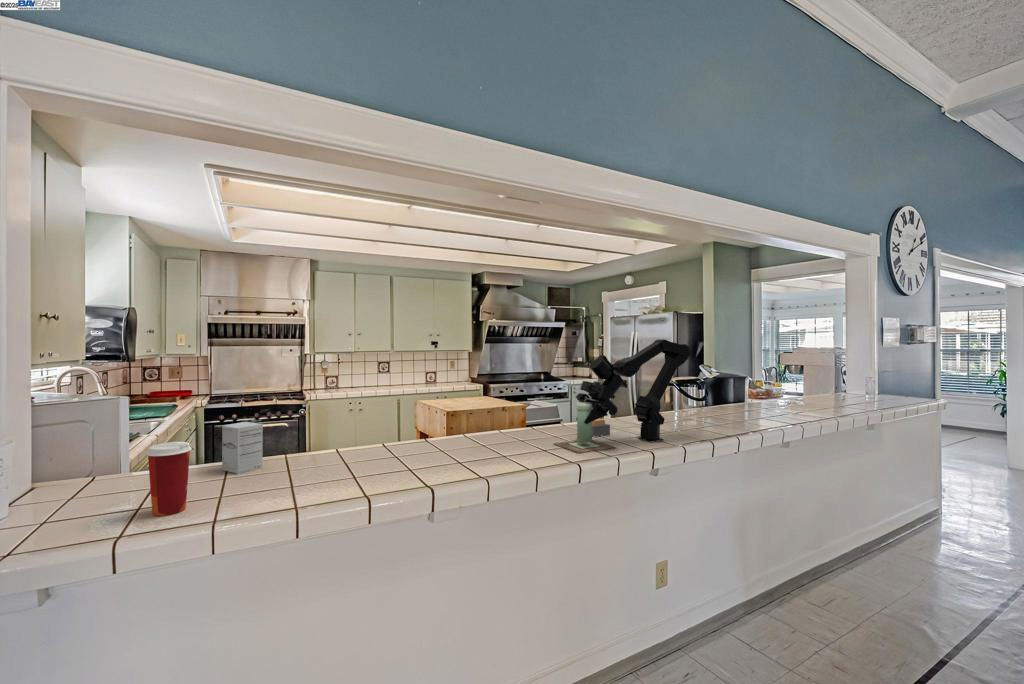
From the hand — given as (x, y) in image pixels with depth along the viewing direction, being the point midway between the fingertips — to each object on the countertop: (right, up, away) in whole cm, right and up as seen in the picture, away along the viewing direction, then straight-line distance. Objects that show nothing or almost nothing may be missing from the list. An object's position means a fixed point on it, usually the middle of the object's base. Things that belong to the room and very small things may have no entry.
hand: (581, 421), depth 154 cm
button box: (+9, -8, +20) cm, 24 cm away
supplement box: (-99, -8, -28) cm, 103 cm away
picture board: (+1, -8, +1) cm, 9 cm away
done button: (+9, -5, +20) cm, 23 cm away
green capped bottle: (+1, -7, +1) cm, 7 cm away
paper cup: (-96, -9, -59) cm, 113 cm away
